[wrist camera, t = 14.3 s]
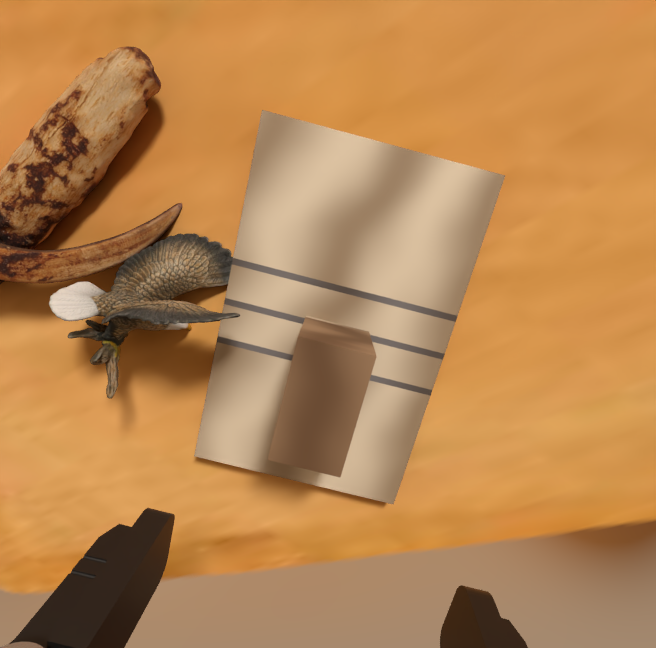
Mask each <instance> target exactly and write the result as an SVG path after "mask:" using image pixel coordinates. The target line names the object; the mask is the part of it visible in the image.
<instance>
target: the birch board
mask: <svg viewBox="0 0 656 648" xmlns="http://www.w3.org/2000/svg"><path fill="white" fill-rule="evenodd" d="M504 177H505V175H501V174H497V173H494V172H490V171H486V170H483V169H479V168H475V167H472V166H468V165H464V164H460V163H457V162H453V161H449V160H446V159H442V158H438V157H435V156H431V155H427V154H423V153H420V152H416V151H412V150H409V149H405V148H401V147H398V146H394V145H390V144H386V143H383V142H379V141H375V140H372V139H368V138H364V137H361V136H357V135H353V134H349V133H346V132H342V131H338V130H335V129H331V128H327V127H324V126H320V125H316V124H312V123H309V122H305V121H301V120H298V119H294V118H290V117H287V116H283V115H279V114H275V113H272V112H268V111H264V110H262V114H261V119H260V124H259V129H258V134H257V139H256V144H255V149H254V154H253V159H252V165H251V170H250V175H249V180H248V185H247V190H246V195H245V200H244V205H243V210H242V216H241V221H240V226H239V231H238V236H237V241H236V246H235V251H234V256H233V261H232V267H231V272H230V277H229V282H228V287H227V292H226V297H225V302H224V307H223V312H222V313H238V314H240V316H239V317H237V318H228V319H222V320H221V323H220V328H219V333H218V338H217V343H216V348H215V353H214V358H213V363H212V369H211V374H210V379H209V384H208V389H207V394H206V399H205V404H204V409H203V414H202V420H201V425H200V430H199V435H198V440H197V445H196V450H195V455H194V456H195V457H199V458H204V459H208V460H212V461H216V462H220V463H224V464H228V465H232V466H237V467H241V468H245V469H249V470H253V471H257V472H261V473H266V474H270V475H274V476H278V477H282V478H286V479H290V480H294V481H299V482H303V483H307V484H311V485H315V486H319V487H323V488H328V489H332V490H336V491H340V492H344V493H348V494H352V495H356V496H361V497H365V498H369V499H373V500H377V501H381V502H385V503H390V504H394V501H395V498H396V495H397V492H398V490H399V487H400V484H401V481H402V478H403V475H404V472H405V469H406V466H407V463H408V460H409V457H410V454H411V451H412V448H413V445H414V442H415V439H416V437H417V434H418V431H419V428H420V425H421V422H422V419H423V416H424V413H425V410H426V407H427V404H428V401H429V398H430V395H431V392H432V389H433V386H434V384H435V381H436V378H437V375H438V372H439V369H440V366H441V363H442V360H443V357H444V354H445V351H446V348H447V345H448V342H449V339H450V336H451V333H452V331H453V328H454V325H455V322H456V319H457V316H458V313H459V310H460V307H461V304H462V301H463V298H464V295H465V292H466V289H467V286H468V283H469V281H470V278H471V275H472V272H473V269H474V266H475V263H476V260H477V257H478V254H479V251H480V248H481V245H482V242H483V239H484V236H485V233H486V230H487V228H488V225H489V222H490V219H491V216H492V213H493V210H494V207H495V204H496V201H497V198H498V195H499V192H500V189H501V186H502V183H503V180H504ZM306 316H310V317H314V318H318V319H322V320H325V321H329V322H333V323H337V324H341V325H345V326H349V327H353V328H357V329H361V330H364V331H368V332H369V333H370V337H371V340H372V343H373V346H374V349H375V353H376V356H377V357H376V360H375V364H374V367H373V370H372V374H371V377H370V380H369V384H368V387H367V390H366V394H365V397H364V400H363V404H362V407H361V410H360V414H359V417H358V420H357V424H356V427H355V431H354V434H353V437H352V441H351V444H350V447H349V451H348V454H347V457H346V461H345V464H344V467H343V471H342V474H341V477H336V476H332V475H328V474H323V473H319V472H315V471H311V470H307V469H303V468H299V467H295V466H291V465H287V464H282V463H278V462H274V461H270V460H267V459H268V455H269V451H270V447H271V443H272V439H273V435H274V431H275V427H276V423H277V419H278V415H279V411H280V407H281V403H282V399H283V395H284V391H285V386H286V382H287V378H288V374H289V370H290V366H291V362H292V358H293V354H294V350H295V346H296V342H297V338H298V335H299V332H300V330H301V327H302V325H303V322H304V320H305V317H306Z"/></svg>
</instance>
